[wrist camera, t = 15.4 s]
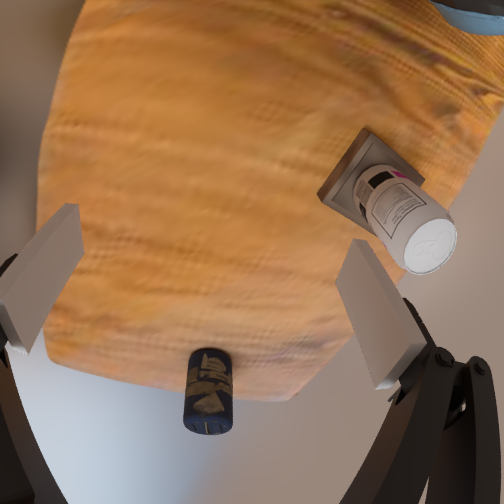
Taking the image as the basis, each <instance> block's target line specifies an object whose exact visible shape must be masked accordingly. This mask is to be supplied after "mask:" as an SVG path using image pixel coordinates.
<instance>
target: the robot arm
mask: <svg viewBox="0 0 504 504" xmlns="http://www.w3.org/2000/svg"><path fill="white" fill-rule="evenodd" d="M428 1H429V2H431V3H432V4H433V5H434V6H435V7H436V9H437V10H438V11H439V12H440V14H441V15H442V16H443V18H444V19H445V20H446V21H447V22H448V23H449V24H450V25H452V26H454V27H456V28H458V29H459V30H461V31H464V32H467V33H471V34H476V35H494V36H495V35H504V0H428ZM83 255H84V247H83V240H82V232H81V223H80V214H79V204H70V203H65V204H64V205H63V206H62V207H61V208H60V209H59V210H58V211H57V212H56V213H55V214H54V215H53V216H52V217H51V218H50V219H49V220H48V222H47V223H46V224H45V225H44V226H43V227H42V228H41V229H40V230H39V231H38V232H37V234H36V235H35V236H34V237H33V238H32V239H31V240H30V242H29V243H28V244H27V245H26V246H25V248H24V249H23V250H22V251H21V252H20V253H19V254H14V255H13V256H11V257H10V258H8V259H7V260H6V261H5V262H4V263H3V265H2V266H1V267H0V504H68V503H67V501H66V499H65V497H64V496H63V494H62V493H61V490H60V489H59V487H58V485H57V483H56V481H55V479H54V477H53V476H52V474H51V472H50V470H49V468H48V466H47V464H46V462H45V459H44V457H43V455H42V453H41V451H40V449H39V446H38V444H37V442H36V439H35V437H34V434H33V432H32V430H31V427H30V425H29V422H28V419H27V416H26V414H25V411H24V408H23V406H22V402H21V399H20V396H19V393H18V390H17V387H16V383H15V380H14V376H13V373H12V369H11V365H10V361H9V357H8V353H7V351H6V349H5V345H6V343H7V341H9V343H10V344H11V346H12V348H13V350H15V351H18V352H21V353H24V354H27V355H28V354H29V352H30V350H31V348H32V346H33V344H34V342H35V340H36V338H37V336H38V334H39V332H40V330H41V328H42V326H43V324H44V322H45V320H46V318H47V316H48V314H49V312H50V311H51V309H52V307H53V305H54V303H55V301H56V300H57V298H58V296H59V294H60V293H61V291H62V289H63V287H64V286H65V284H66V282H67V281H68V279H69V277H70V276H71V274H72V272H73V271H74V269H75V267H76V266H77V264H78V263H79V261H80V259H81V258H82V256H83ZM335 283H336V286H337V288H338V291H339V293H340V296H341V298H342V301H343V303H344V306H345V308H346V311H347V313H348V316H349V318H350V321H351V324H352V326H353V329H354V331H355V334H356V337H357V339H358V342H359V345H360V348H361V350H362V353H363V355H364V359H365V361H366V364H367V367H368V370H369V373H370V375H371V378H372V381H373V384H374V387H375V389H384V388H391V387H392V385H394V383H395V382H396V381H397V380H398V379H399V381H400V384H401V386H400V388H399V389H398V390H397V391H396V392H395V393H394V394H393V395H392V396H391V397H390V398H389V400H388V401H389V402H390V401H391V400H392V399H393V402H392V404H391V407H390V409H389V411H388V413H387V415H386V418H385V420H384V422H383V424H382V426H381V429H380V431H379V433H378V435H377V437H376V439H375V441H374V443H373V445H372V447H371V449H370V451H369V453H368V455H367V457H366V459H365V461H364V462H363V464H362V466H361V468H360V470H359V471H358V473H357V475H356V477H355V478H354V480H353V482H352V484H351V485H350V487H349V489H348V490H347V492H346V493H345V495H344V497H343V498H342V500H341V501H340V503H339V504H418V503H419V500H420V498H421V496H422V493H423V491H424V488H425V485H426V483H427V480H428V477H429V482H428V489H427V495H426V501H425V504H500V491H501V451H500V435H499V423H498V413H497V406H496V399H495V391H494V386H493V379H492V374H491V370H490V367H489V365H488V364H487V362H486V361H485V360H484V359H482V358H480V357H478V356H473V357H471V358H470V360H469V361H468V362H467V363H466V364H465V363H461V362H457V361H455V359H454V357H453V356H452V354H451V353H450V352H449V351H447V350H446V349H444V348H442V347H436V345H435V343H434V341H433V339H432V337H431V336H430V334H429V332H428V330H427V328H426V327H425V325H424V323H422V322H423V321H422V320H421V318H420V316H418V315H419V314H418V313H417V311H416V309H415V307H414V306H413V305H412V304H411V303H410V302H409V301H408V300H407V299H406V298H402V297H401V295H400V293H399V292H398V290H397V288H396V287H395V285H394V283H393V282H392V280H391V278H390V277H389V275H388V273H387V272H386V270H385V269H384V267H383V265H382V264H381V262H380V261H379V259H378V258H377V256H376V254H375V253H374V251H373V250H372V248H371V247H370V245H369V244H368V242H367V241H366V240H360V239H354V238H353V240H352V243H351V245H350V248H349V250H348V253H347V255H346V258H345V260H344V263H343V265H342V268H341V270H340V273H339V275H338V277H337V280H336V282H335ZM464 403H465V404H466V407H465V410H464V411H462V405H463V404H464Z"/></svg>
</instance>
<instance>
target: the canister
mask: <svg viewBox="0 0 504 504" xmlns="http://www.w3.org/2000/svg"><path fill="white" fill-rule="evenodd" d="M232 382H233V380H232V362H231V360H230V358H229V357H228V356H227V355H225V354H223V353H221V352H219V351H214V350H203V351H199V352H196V353H195V354H193V355H192V356H191V357H190V359H189V363H188V372H187V382H186V391H185V405H184V415H183V422H184V425H185V427H186V428H187V429H189V430H190V431H193V432H195V433H198V434H204V435H219V434H223V433H226V432H228V431H229V430H230V429H231V428H232V425H233V405H232V404H233V402H232V398H233V383H232Z"/></svg>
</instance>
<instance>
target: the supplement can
mask: <svg viewBox="0 0 504 504" xmlns="http://www.w3.org/2000/svg"><path fill="white" fill-rule="evenodd" d="M353 200H354V203H355V206H356V208H357V209H358V211H359V212H360V213H361V215H362V216H363V217H364V219H365V220H366V221H367V223H368V224H369V225H370V227H371V228H372V229H373V231H374V232H375V234H376V235H377V236H378V238H379V239H380V241H381V242H382V243H383V245H384V246H385V248H386V249H387V250H388V252H389V253H390V255H391V256H392V258H393V259H394V261H395V262H396V263H397V264H398V265H399V267H400V268H402V269H405V270H407V271H410V272H411V273H414V274H416V275H425V274H429V273H431V272H434V271H435V270H437V269H438V268H440V267H441V266H442V265H444V263H445V262H446V261H447V260H448V259H449V258H450V256H451V254H452V253H453V251H454V249H455V245H456V241H457V232H456V229H455V227H454V223H453V219H452V218H451V216H450V214H449V212H448V211H447V210H446V209H445V208H443V207H442V206H441V205H440V204H439V203H438V202H436V201H435V200H434V199H433V198H432V197H431V196H429V195H428V194H427V193H426V192H425V191H423V190H422V189H421V188H420V187H418V186H417V185H416V184H415V183H413V182H412V181H411V180H410V179H408V178H407V177H406V176H405V175H403V174H402V173H401V172H399V171H398V170H397V169H395V168H393V167H392V166H389V165H382V164H381V165H377V166H373V167H371V168H369V169H368V170H366V171H365V172H363V173H362V175H361V176H360V177H359V179H358V180H357V182H356V185H355V187H354V190H353Z"/></svg>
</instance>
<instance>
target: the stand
mask: <svg viewBox="0 0 504 504" xmlns="http://www.w3.org/2000/svg"><path fill="white" fill-rule="evenodd" d="M381 164H382V165H389V166H392V167H393V168H395V169H397V170H398V171H399V172H401V173H402V174H403V175H405V176H406V177H407V178H408V179H410V180H411V181H412V182H413V183H415V184H416V185H417V186H418V187H420V186H421V185H422V183H423V182H424V181H425V178H424V177H422V176H421V175H420V174H419V173H418V172H417V171H416V170H415V169H414V168H413V167H412V166H410V165H409V164H408V163H407V162H406V161H405V160H404V159H403V158H401V157H400V156H399V155H398V154H397V153H396V152H394V151H393V150H392V149H391V148H390V147H389V146H387V145H386V144H385V143H384V142H382V141H381V140H380V139H379V138H378V137H376V136H375V135H374V134H372V133H371V132H369V131H367V130H366V129H364V128H363V129H362V130H361V132H360V133H359V135H358V136H357V137H356V139H355V140H354V142H353V143H352V145H351V146H350V147H349V149H348V150H347V152H346V153H345V155H344V156H343V157H342V159H341V160H340V162H339V163H338V165H337V166H336V167H335V169H334V170H333V172H332V173H331V174H330V176H329V177H328V179H327V180H326V182H325V183H324V184H323V186H322V187H321V189H320V190H319V191H318V193H317V195H318V197H319V199H320V200H321V202H322V203H324V204H325V205H327V206H329V207H330V208H332V209H334V210H335V211H337V212H339V213H340V214H342V215H343V216H345V217H347V218H348V219H350V220H351V221H353V222H355V223H356V224H358V225H359V226H361V227H363V228H364V229H366V230H367V231H369V232H370V233H372V234H373V235H375V236H377V235H376V234H375V232H374V231H373V229H372V228H371V227H370V225H369V224H368V223H367V221H366V220H365V219H364V217H363V216H362V215H361V213H360V212H359V211H358V209H357V208H356V206H355V203H354V200H353V190H354V187H355V185H356V182H357V180H358V179H359V177H360V176H361V175H362V173H363V172H365V171H366V170H368V169H369V168H371V167H373V166H377V165H381ZM377 237H378V236H377Z"/></svg>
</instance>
